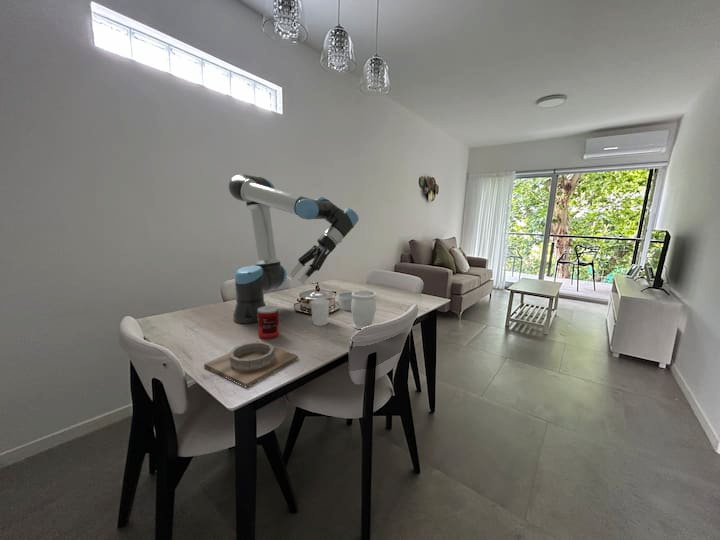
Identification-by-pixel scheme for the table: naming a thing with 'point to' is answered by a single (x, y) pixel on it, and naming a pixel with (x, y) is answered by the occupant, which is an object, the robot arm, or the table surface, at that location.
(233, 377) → the cup holder
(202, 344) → the table surface
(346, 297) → the ramekin
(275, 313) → the canned food
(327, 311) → the white cup
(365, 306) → the jar
